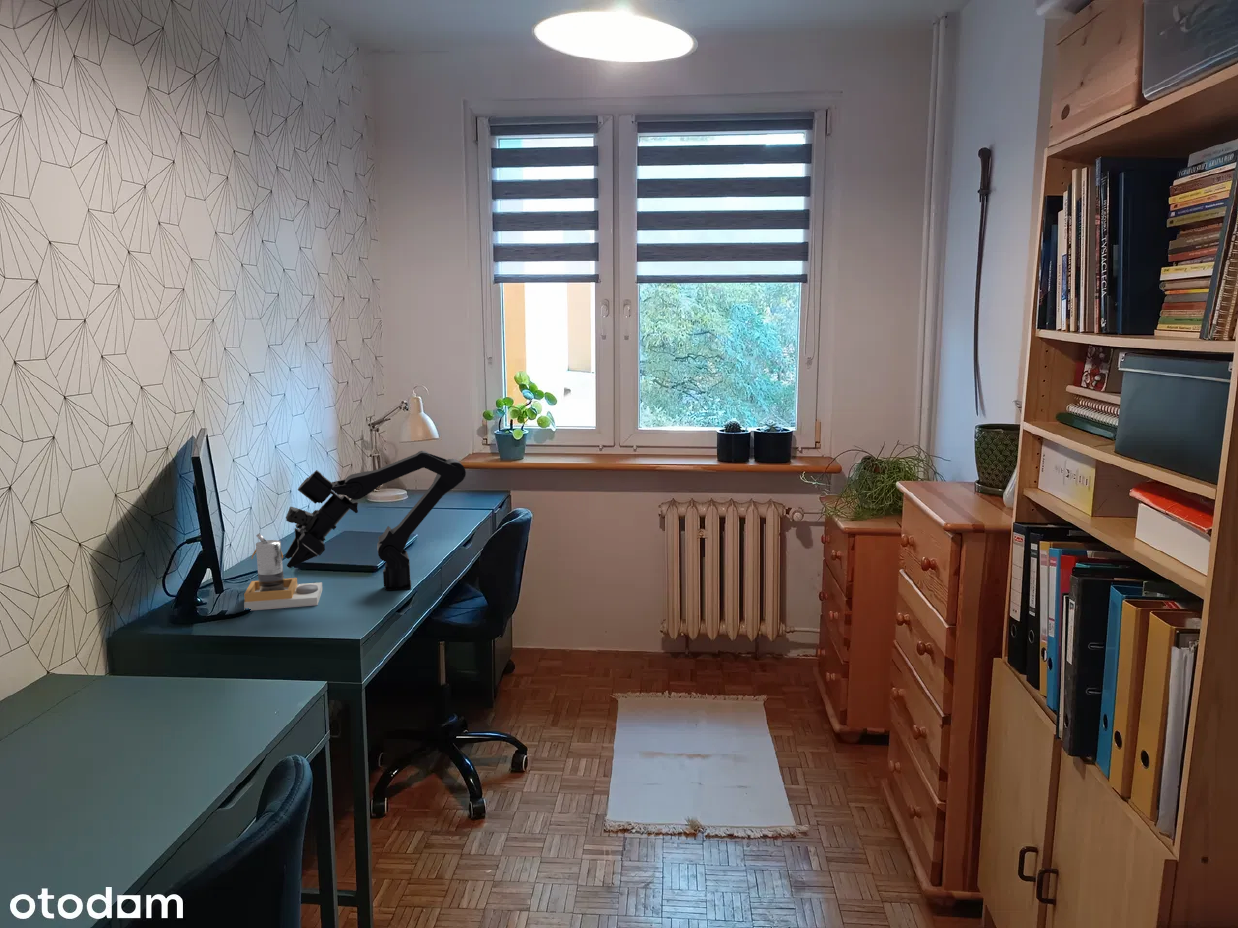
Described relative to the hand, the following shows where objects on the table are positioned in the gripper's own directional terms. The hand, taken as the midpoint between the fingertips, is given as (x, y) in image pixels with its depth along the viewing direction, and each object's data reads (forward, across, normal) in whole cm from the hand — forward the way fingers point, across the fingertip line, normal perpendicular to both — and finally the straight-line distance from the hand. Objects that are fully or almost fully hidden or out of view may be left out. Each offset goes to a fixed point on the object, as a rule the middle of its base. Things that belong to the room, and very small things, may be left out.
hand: (287, 562), depth 225 cm
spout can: (+8, 0, +2) cm, 9 cm away
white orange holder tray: (+8, 0, +6) cm, 10 cm away
